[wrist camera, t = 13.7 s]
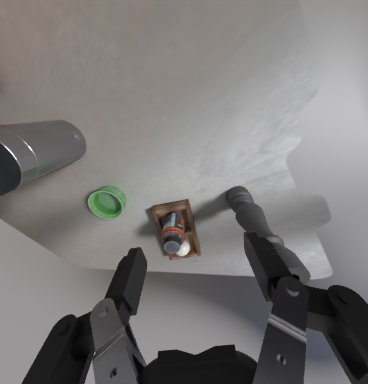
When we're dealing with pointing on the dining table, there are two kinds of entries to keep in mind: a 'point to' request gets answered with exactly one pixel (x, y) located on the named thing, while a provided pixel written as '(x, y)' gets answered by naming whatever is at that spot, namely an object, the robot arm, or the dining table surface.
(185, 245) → the egg
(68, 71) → the dining table surface
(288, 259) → the grey turned candlestick
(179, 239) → the supplement bottle
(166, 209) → the holder
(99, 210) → the ramekin
